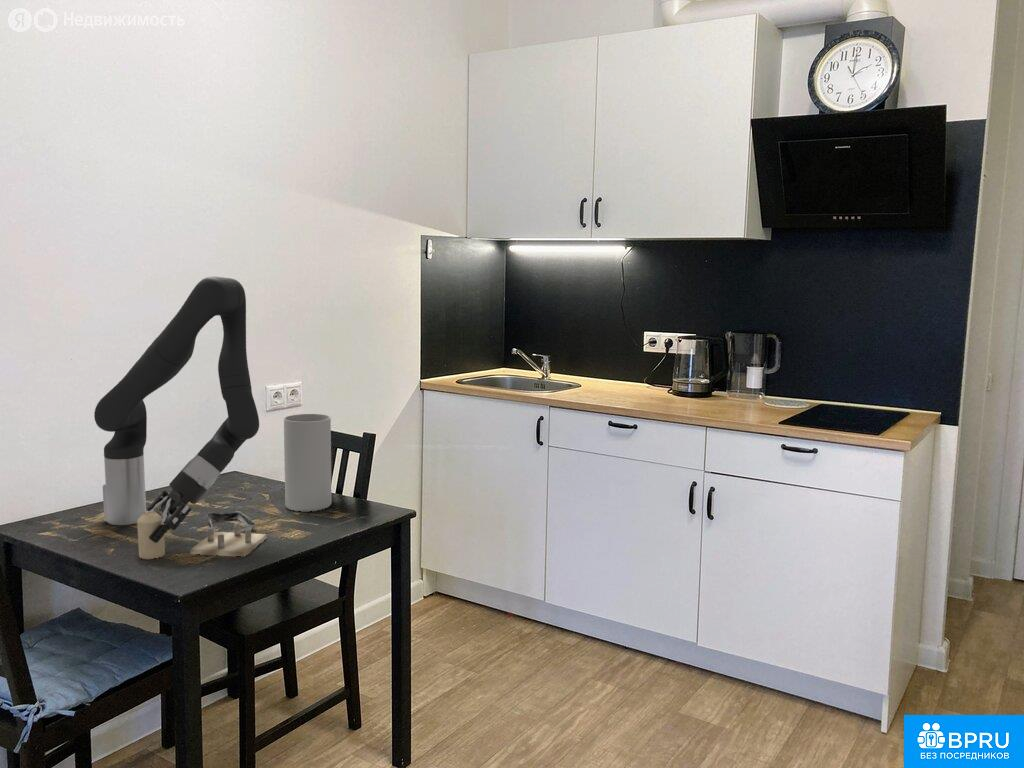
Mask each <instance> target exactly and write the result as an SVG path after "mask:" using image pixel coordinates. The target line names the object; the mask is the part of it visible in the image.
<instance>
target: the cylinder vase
mask: <svg viewBox="0 0 1024 768" xmlns="http://www.w3.org/2000/svg"><path fill="white" fill-rule="evenodd" d="M331 420H332V418H331V416H330V415H327V414H321V413H299V414H291V415H287V416H284V418H283V446H284V447H283V448H284V451H283V452H284V453H283V454H284V455H283V456H284V500H285V501H284V503H285V508H286V509H288V510H290V511H293V510H294V511H293V512H298V511H301V512H300V513H305V512H306V513H308V512H309V513H310V511H312V512H319V511H323V510H325V508H326V509H328V508H329V507H330V506H331V505H332V436H331V435H332V433H331V432H332V430H331V429H332V427H331V426H332V425H331V423H332V421H331ZM322 509H323V510H322ZM318 510H319V511H318Z"/></svg>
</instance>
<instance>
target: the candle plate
mask: <svg viewBox="0 0 1024 768" xmlns="http://www.w3.org/2000/svg"><path fill="white" fill-rule="evenodd" d="M233 527H234V528H233V529H234V533H231V532H219V531H216V532H214V528H212V527H211V526H210V527H207V529H206V531H207V532H206V534H207V537H206V538H204V539H203V540H201V541H200V542H198V543H197V544H195V545H194V546H193V547H192V548H190V555H196V554H200V556H216V555H218V556H219V557H236V556H241V557H240V558H243V557H244V558H246V557H247V556H248V555H250V553H252V552H253V551H254V550H255V549H256V548H258V547H259V546H260V545H261V544H262V543H263V542H265V541H266V540H267V534H266V533H252V531H251V529H247V530H245V532H240V528H241V522H234V525H233ZM265 539H266V540H265ZM264 540H265V541H264ZM260 543H261V544H260ZM259 544H260V545H259ZM258 545H259V546H258ZM257 546H258V547H257ZM253 549H254V550H253ZM252 550H253V551H252ZM251 551H252V552H251ZM246 555H247V556H246ZM245 556H246V557H245Z"/></svg>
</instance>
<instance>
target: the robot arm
mask: <svg viewBox="0 0 1024 768" xmlns="http://www.w3.org/2000/svg"><path fill="white" fill-rule="evenodd" d="M216 316H220V319H221V323H222V329H223V337H222V345H221V348H220V353H219V357H218V364H217V372H218V380H219V381H218V382H219V386H220V392H221V396H222V398H223V401H224V402H225V405H226V411H227V417H226V418H225V420H224V421H223V422H222V423H221V425H220V426H219V427H218V429H217V430H216V431H215V433H214V435H213V436H212V437H211V439H209V441H208V442H206V443H205V445H204V446H203V447H202V448H201V449H200V450H199V451H198V453H196V455H195V456H194V457H193V458H191V459H190V460H189V461H188V462H187V463H186V464H185V465H184V467H183V468H182V469H181V470H180V471H179V472H178V474H177V475H176V476H175V477H174V478H173V479H172V480H171V481H170V482H169V487H170V488H171V489H172V490H171V491H170V492H168V491H167V490H163V491H162V492H161V493H160V495H158V497H157V498H155V500H154V501H153V502H152V503H151V504H150V505H149V506H148V507H147V499H146V479H145V475H146V474H145V459H144V458H145V457H144V453H145V452H144V449H145V445H146V443H147V430H148V429H147V426H148V424H147V419H148V417H147V407H146V404H145V402H144V400H145V398H147V397H148V396H150V395H151V394H153V392H156V391H157V390H158V389H161V387H163V386H165V385H166V384H167V383H169V382H170V381H171V380H172V379H174V378H175V376H177V375H178V373H180V372H181V370H182V369H183V368H184V367H185V366H186V365H187V363H188V362H189V361H190V359H191V358H192V356H193V354H194V349H195V346H196V345H195V344H196V339H197V336H198V334H199V333H200V331H201V330H202V329H203V328H204V327H205V326H206V324H207V323H208V322H209V321H210V320H211V319H213V318H214V317H216ZM248 363H249V362H248V355H247V296H246V291H245V289H244V286H243V285H242V284H241V283H240V281H238V280H236V279H235V278H231V277H224V276H222V277H221V276H208V277H204V278H202V279H201V280H200V281H199V282H198V283H197V284H196V285H195V286H194V288H193V289H192V291H190V294H189V295H188V297H187V298H186V300H185V301H184V303H183V305H182V306H181V308H180V309H179V310H178V312H177V313H176V314H175V315H174V317H173V318H172V319H171V320H170V322H169V323H168V324H167V325H166V326H165V327H164V329H163V330H162V331H161V333H160V334H159V335H158V336H157V337H156V338H155V339H153V341H152V342H151V344H150V345H149V346H148V347H147V348H146V349H145V351H144V352H143V354H141V356H140V357H139V359H138V360H137V361H136V362H135V363H134V365H132V367H131V368H130V369H129V371H128V372H127V373H126V374H125V376H124V377H122V379H121V380H119V382H118V383H117V384H116V385H115V386H113V388H112V389H110V390H109V391H108V392H107V393H106V394H105V395H104V396H103V397H102V398H100V399H99V401H98V402H97V403H96V405H95V409H94V414H93V416H94V417H93V418H94V421H95V424H96V426H97V427H98V428H100V429H101V430H103V431H104V432H111V433H113V432H114V433H113V436H112V437H111V439H110V440H109V441H108V442H107V443H106V444H105V445H104V448H103V457H104V479H105V484H103V485H102V501H103V504H102V505H103V521H104V522H106V523H108V524H109V525H111V526H129V525H135V524H136V525H137V520H138V519H139V518H140V517H141V516H142V514H143V513H144V514H146V513H147V512H157V513H158V514H159V515H161V516H162V517H163V519H162V522H161V525H160V524H159V525H158V527H157V528H156V529H155V530H154V531H153V532H152V534H151V535H150V536H149V539H150V540H152V541H153V542H155V543H157V542H158V541H159V540H160V539H161V538H162V537H163V536H164V537H165V534H166V533H167V532H168V531H171V530H173V531H175V530H176V529H177V528H178V527H179V526H180V524H181V523H182V522H183V521H184V520H185V518H186V517H188V516H187V515H189V513H190V512H191V511H192V507H191V506H189V505H188V504H192V505H196V504H197V503H198V502H199V501H200V500H201V498H202V497H203V496H204V495H205V494H206V492H207V491H209V489H210V488H211V487H212V485H214V483H215V482H216V480H217V479H218V477H219V475H221V473H222V472H223V471H224V470H225V468H227V466H228V465H229V464H230V463H231V462H232V460H233V458H234V456H235V453H236V452H237V451H238V450H239V448H241V447H242V445H243V444H244V443H245V442H246V441H247V440H250V439H251V438H253V437H255V436H256V435H257V433H258V432H259V429H260V418H259V414H258V409H257V405H256V403H255V402H256V401H255V399H254V395H253V391H252V389H253V388H252V384H251V383H252V382H251V376H250V369H249V364H248ZM136 529H138V526H137V527H136Z"/></svg>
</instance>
